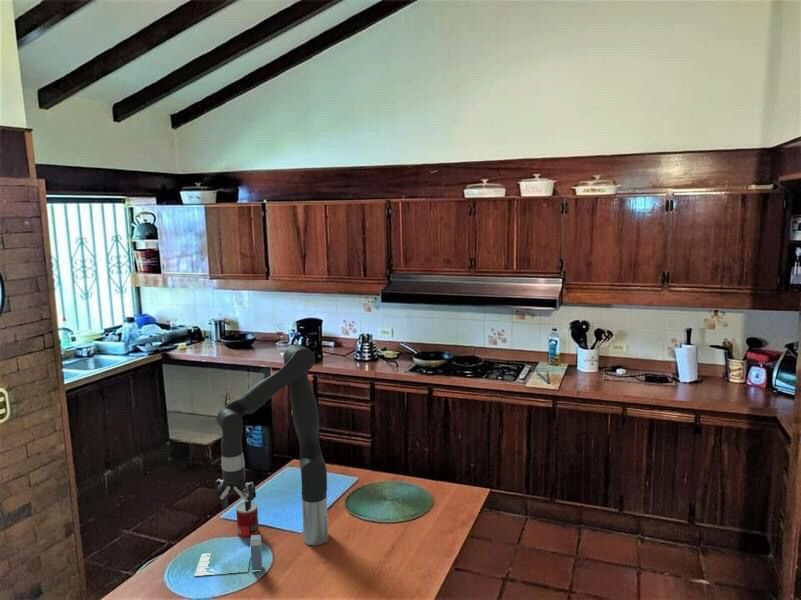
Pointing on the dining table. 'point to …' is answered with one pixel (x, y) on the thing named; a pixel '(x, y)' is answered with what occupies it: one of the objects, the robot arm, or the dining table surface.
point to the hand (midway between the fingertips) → (236, 509)
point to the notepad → (204, 566)
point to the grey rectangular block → (256, 552)
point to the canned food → (247, 520)
